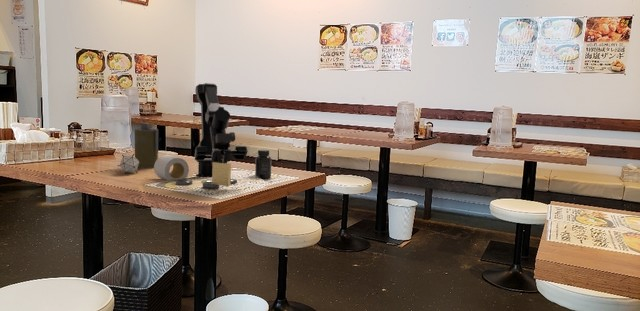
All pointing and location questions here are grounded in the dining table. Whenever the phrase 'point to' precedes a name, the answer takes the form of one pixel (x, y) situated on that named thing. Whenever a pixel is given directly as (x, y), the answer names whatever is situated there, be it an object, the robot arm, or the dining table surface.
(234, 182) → the tribrach plate
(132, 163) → the game die
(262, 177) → the supplement bottle
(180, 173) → the toilet paper
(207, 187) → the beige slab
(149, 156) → the canister
